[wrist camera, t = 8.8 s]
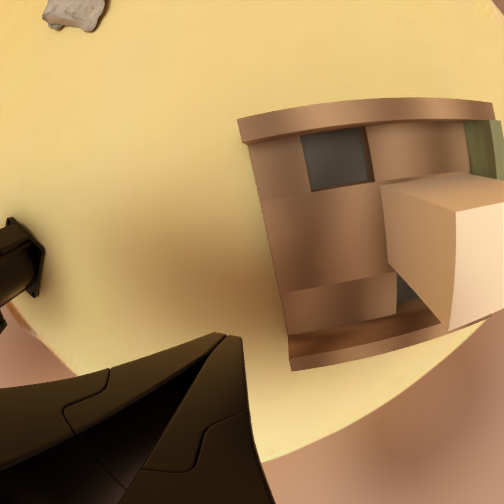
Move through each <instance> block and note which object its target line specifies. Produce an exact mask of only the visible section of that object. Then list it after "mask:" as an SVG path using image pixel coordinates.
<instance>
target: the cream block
mask: <svg viewBox="0 0 504 504" xmlns="http://www.w3.org/2000/svg"><path fill="white" fill-rule="evenodd" d="M380 191H381V198H382V205H383V213H384V222H385V232H386V244H387V258H388V263H389V264H390V265H391V266H392V268H393V269H394V270H395V271H396V272H397V273H398V274H399V275H400V276H401V277H402V278H403V279H404V280H405V282H406V283H407V284H408V285H409V286H410V287H411V288H412V289H413V290H414V291H415V293H416V294H417V295H418V296H419V297H420V298H421V299H422V301H423V302H424V303H425V304H426V305H427V306H428V308H429V309H430V310H431V311H432V312H433V313H434V315H435V316H436V317H437V318H438V319H439V321H440V322H441V323H442V324H443V326H444V327H445V328H446V329H447V330H448V331H450V330H453V329H455V328H458V327H461V326H463V325H466V324H468V323H471V322H473V321H475V320H478V319H480V318H483V317H485V316H487V315H489V314H492V313H494V312H496V311H498V310H500V309H502V308H504V181H502V180H497V179H493V178H488V177H483V176H477V175H472V174H466V173H464V174H456V175H448V176H440V177H433V178H426V179H419V180H413V181H406V182H400V183H393V184H387V185H381V186H380Z"/></svg>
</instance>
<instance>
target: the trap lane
mask: <svg viewBox="0 0 504 504" xmlns="http://www.w3.org/2000/svg"><path fill="white" fill-rule="evenodd" d="M237 122H238V126H239V131H240V135H241V139H242V143H244V144H246V145H248V149H249V154H250V158H251V162H252V167H253V171H254V175H255V180H256V184H257V189H258V193H259V198H260V202H261V207H262V212H263V216H264V221H265V225H266V230H267V235H268V239H269V244H270V249H271V254H272V258H273V263H274V268H275V273H276V278H277V282H278V287H279V292H280V297H281V302H282V307H283V312H284V317H285V322H286V327H287V332H288V346H289V361H290V366H291V371H298V370H305V369H311V368H317V367H323V366H328V365H334V364H339V363H344V362H349V361H353V360H358V359H362V358H367V357H371V356H375V355H379V354H383V353H387V352H391V351H394V350H398V349H402V348H405V347H409V346H412V345H415V344H419V343H422V342H425V341H428V340H431V339H434V338H437V337H440V336H443V335H446V334H449V333H452V332H454V331H457V330H460V329H462V328H465V327H468V326H470V325H473V324H475V323H478V322H480V321H482V320H485V319H487V318H490V317H491V316H492V314H489V315H487V316H485V317H483V318H480V319H478V320H475V321H473V322H471V323H468V324H466V325H463V326H461V327H458V328H455V329H453V330H450V331H448V330H447V329H446V328H445V327H444V326H443V324H442V323H441V322H440V321H439V319H438V318H437V317H436V316H435V315H434V313H433V312H432V311H431V310H430V309H429V308H428V306H427V305H426V304H425V303H424V302H423V301H422V299H421V298H420V297H419V296H418V295H417V294H416V293H415V291H414V290H413V289H412V288H411V287H410V286H409V285H408V284H407V283H406V282H405V280H404V279H403V278H402V277H401V276H400V275H399V274H398V273H397V272H396V271H395V270H394V269H393V268H392V266H391V265H390V264H389V263H388V258H387V244H386V232H385V222H384V213H383V205H382V198H381V191H380V186H381V185H387V184H393V183H400V182H406V181H413V180H419V179H426V178H433V177H440V176H448V175H456V174H464V173H466V174H472V175H477V176H483V177H488V178H493V179H497V180H502V181H504V139H503V132H502V126H501V121H497V120H495V115H494V110H493V105H492V103H489V102H481V101H472V100H461V99H446V98H379V99H363V100H350V101H340V102H331V103H323V104H315V105H308V106H302V107H295V108H289V109H284V110H278V111H273V112H268V113H263V114H258V115H254V116H249V117H245V118H240V119H237Z"/></svg>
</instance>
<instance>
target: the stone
mask: <svg viewBox="0 0 504 504" xmlns="http://www.w3.org/2000/svg"><path fill="white" fill-rule="evenodd" d="M104 6H105V0H49V1H48V4H47V6H46V9H45V10H44V13H43V15H42V19H43V20H45V21H46V22H47V23H48V24H49V25H48V26H49V28H51V29H54V30H57V29H59V28H60V27H62V26H63V25H65V26H72V27H79V28H81V29H82V30H83V31H85V32H91V31H92V30H93V29H94V28H95V26H96V24H97V21H98V17H99V16H100V15H101V14H102V12H103V8H104Z"/></svg>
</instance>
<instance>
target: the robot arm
mask: <svg viewBox="0 0 504 504" xmlns="http://www.w3.org/2000/svg"><path fill="white" fill-rule="evenodd" d="M43 258H44V249H43V247H42V246H41V245H40V244H39V243H38V242H37V241H35V240H34V239H33V238H32V237H31V236H30V235H29V234H28V233H27V232H26V231H25V230H24V229H23V228H22V227H21V226H20V225H19V224H18V223H17V222H16V221H15V220H14V219H13V218H12V217H9V218H7V220H6V227H4V228H2V229H0V308H1V307H2V306H4V305H5V304H6V303H8V302H9V301H11V300H12V299H13V298H15V297H16V296H18V295H19V294H21V293H22V292H24V291H25V290H26V291H27V292H28V293H29V294H30V295H31V296H32V297H33V298H36V297H37V296H38V293H39V284H40V277H41V270H42V264H43ZM6 326H7V323H6V321H5V319H4V318H3V315H2V313H1V310H0V334H1V332H2V331H3V330H4V329H5V327H6ZM0 504H276V503H275V501H274V498H273V496H272V493H271V490H270V487H269V484H268V482H267V479H266V476H265V473H264V470H263V468H262V465H261V462H260V459H259V455H258V452H257V448H256V445H255V441H254V436H253V430H252V424H251V416H250V409H249V400H248V391H247V382H246V372H245V363H244V353H243V343H242V338H241V337H238V336H232V335H228V336H227V335H226V334H221V333H216V332H213V333H210V334H208V335H205V336H203V337H200V338H197V339H194V340H192V341H189V342H186V343H184V344H181V345H178V346H175V347H172V348H170V349H167V350H164V351H161V352H158V353H155V354H152V355H149V356H146V357H143V358H140V359H137V360H134V361H131V362H128V363H125V364H121V365H118V366H115V367H112V368H111V370H110V369H109V368H107V369H104V370H100V371H97V372H93V373H89V374H86V375H82V376H78V377H73V378H68V379H63V380H58V381H52V382H46V383H39V384H33V385H26V386H18V387H10V388H1V389H0Z"/></svg>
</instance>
